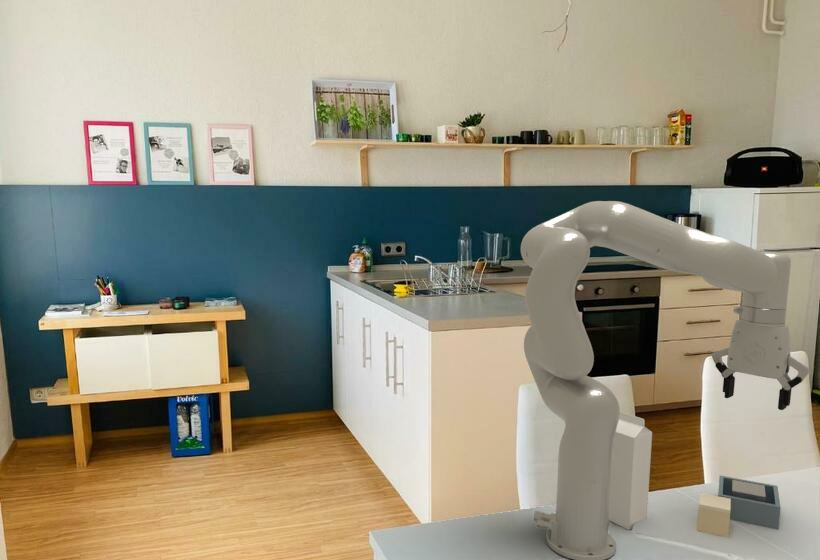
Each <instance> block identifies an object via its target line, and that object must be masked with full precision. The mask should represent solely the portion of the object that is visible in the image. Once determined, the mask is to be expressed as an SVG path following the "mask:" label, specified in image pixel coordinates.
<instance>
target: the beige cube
mask: <svg viewBox="0 0 820 560" xmlns="http://www.w3.org/2000/svg"><path fill="white" fill-rule="evenodd" d="M730 508H731V499H729V498H724V497H719V496H718V495H712V494H708V493H705V492H704V493H702V492H700V493H699V499H698V510H697V511H698V512H697V525H696V531H698V532H702V533H706V534H710V535H715V536H720V537H725V538H729V534H730V521H731V519H730Z"/></svg>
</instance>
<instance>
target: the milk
mask: <svg viewBox="0 0 820 560" xmlns="http://www.w3.org/2000/svg"><path fill="white" fill-rule="evenodd" d="M645 424H646V423H645V419H644V418H641V417H638V416H635V415H632V414H629V413H626V412H623V411H620V416H619V421H618V425H617V429H616V433H615V437H614V442H613V450H612V464H611V484H610V502H609V519H608V522H611V523H612V524H615V525H617V526H620V527H622V528H623V529H624V528H625V529H626V530H628V531H629V530H630V531H631V530H632V529H633V527H634V525H635V524H636V523H639V522H640V521H643V520H645V519H646V518H648V505H649V503H648V502H649V487H650V477H651V476H650V473H651V458H652V456H651V455H652V443H653V442H652V441H653V431H651V430H650V428H649V429H648V427H646V426H645Z"/></svg>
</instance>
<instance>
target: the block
mask: <svg viewBox="0 0 820 560" xmlns="http://www.w3.org/2000/svg"><path fill="white" fill-rule="evenodd" d="M731 496H733V497H738V498H743V499H749V500H754V501H759V502H764V503H765V499H766V495H765V486H764V485H758V484H753V483H748V482H742V481H737V480H732V492H731Z"/></svg>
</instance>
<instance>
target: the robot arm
mask: <svg viewBox="0 0 820 560" xmlns="http://www.w3.org/2000/svg"><path fill="white" fill-rule="evenodd" d="M593 247H602V248H605V249H606V248H607V249H610V250H613V251H616V252H618V253H621V254H622V255H623V254H624V255H627V256H629V257H632V258H634V259H637V260H640V261H642V262H645V263H648V264H650V265H653V266H655V267H657V268H662V269H665V270H668V271H672V272H676V273H681V274H687V275H694V276H699V277H702V278H703V280H704V281H705V282H706V283H707V284H709V285H710V286H712V287H715V288H718V289H721V290H722V289H723V290H729V291H735V292H740V293H742V302H741V304H740V306H734V307H733V313H734V314H737V315H739V318H740V319H737V320H735V321H734V325H733V328H732V332H731V336H730V341H729V346H728V347H727V348H724V349H721V350H717V351H714V352H712V353H711V359H712V361H713V362H714V364H715V368H716V369H717V371H718V372H719V373H720V375H721V377H722V378H723V383H722V392H723V393H724V398H725V399H730V398H731V397H733V396H734V393H735V383H736V377H735V376H734V375H735V373H741V374H746V375H750V376H751V375H752V376H754V377H755V376H756V377H760V378H761V377H762V378H767V379H773V380H774V379H775V380H777V382H778V383H779V384H780V386H781V389H779V390H778V391H779V392H778V403H777V409H778V410H779V411H784V410H785V409H787V407H789V406H790V404H791V397H792V388H794V387H796V386H797V385H799V384H801V383H803V381H804V380H805V378H806V377H807V376H808V375H809V374H810V373H811V369H810V368H809V367H807V366H806V365H804V364H803V363H802V362H800V361H798V360H797V359H796V358H793V357H792V356H791V336H790V329H789V325H787V324H786V316H787V308H788V307H787V306H788V295H789V285H790V277H791V275H790V274H791V265H792V264H791V263H792V261H791V257H790V256H789V255H788V254H786V253H784V252H778V251H764V250H757V249H754V248H752V247H749V246H747V245H744V244H741V243H739V242H736V241H734V240H731V239H727V238H725V237H720V236H717V235H715V234H711V233H708V232H705V231H702V230H700V229H696V228H693V227H690V226H686V225H684V224H680V223H678V222H675V221H672V220H670V219H668V218H665V217H662V216H660V215H657V214H655V213H652V212H650V211H647V210H645V209H642V208H640V207H637V206H634V205H632V204H630V203H626V202H623V201H618V200H617V201H616V200H607V201H604V200H603V201H602V200H596V201H589V202H586V203H583V204H582V205H579V206H577V207H575V208H573V209H571V210H568V211H566V212H564V213H562V214H560V215H557V216H556V217H553V218H550V219H548V220H547V221H544V222H541V223H540V224H538V225H536V226H534V227H532V228H531V229H530V230H528V231H527V232H526V234H525V235H524V236H523V238H522V241H521V244H520V255H521V258H522V261H524V262H525V263H524V264H526V265H527V266H528V267H530V269H531V268H532V270H531V272H530V275H529V278H528V280H527V284H526V288H525V296H524V297H525V298H524V299H525V301H524V303H525V307H526V311H527V314H528V317H529V320H530V323H531V326H529V327H528V328H527V331H526V333H525V335H524V339H523V352H524V356H525V359H526V361H527V364H528V366H529V370H530V371H531V374H532V377H533V379H534V382H535V384H536V387H537V389H538V391H539V394H540V397H541V399H542V401H543V402H544V405H545V406H546V407H547V408H548V410H550V411H551V412H552V413H553V414H555V415H556V416H557V417H559V418H560V419H561V420H563V421H564V424H565V426H564V431H563V434H562V435H561V439H560V442H559V446H558V456H557V457H558V458H557V459H558V460H557V464H558V465H557V480H556V481H557V485H556V503H555V504H556V507H555V509H556V510H555V513H553V512H551V513H550V514H549V513H545V512H543V511H540V510H539V511H538V510H535V511H534V513H533V521H534V522H536V524H535V525H536V527H538V528H542V529H548V530H547V532H546V538H545V539H546V543H547V545H548V546H549V548H550V549H552V551H554V552H556V553H557V554H559V555H561V556H562V557H565V558H568V559H571V560H607V559H609V558H611V557H612V556H613V555H614V554H615V553H616V551H617V550H616V548H617V542H616V540H615V538H614V537H613V536H612V535H611V533H609V520H608V519H609V502H610V484H611V464H612V450H613V442H614V437H615V433H616V429H617V425H618V421H619V416H620V412H621V409H620V403H619V401H618V399H617V397H616V395H615V394H614V392H613V391H612V390H611V389H610V388H609V387H608V386H607V385H605V384H603V383H602V382H600V381H598V380H596V379H595V378H593V377H591V376H590V375H589V376H588V374H589V373H590V372H591V371H592V368H593V367H594V362H595V360H594V359H595V355H594V350H593V347H592V343H591V341H590V338H589V335H588V333H587V331H586V328H585V325H584V322H583V319H582V317H581V315H580V312H579V309H578V306H577V302H576V297H575V292H576V286H577V284H578V283H577V282H578V281H579V279H580V277H581V276H582V273H583V271H584V270H585V269H586V267H587V265H588V262H589V260H590V255H591V249H590V248H593ZM725 356H727V357H726V358H727V359H726V364H725V363H724V361H723V357H725ZM790 367H791V368H793V369H794V370H796V371H797V375H796V376H795V377H794V378H792V379H791V377H790V376H789V375H788V374H789V372H790Z"/></svg>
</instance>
